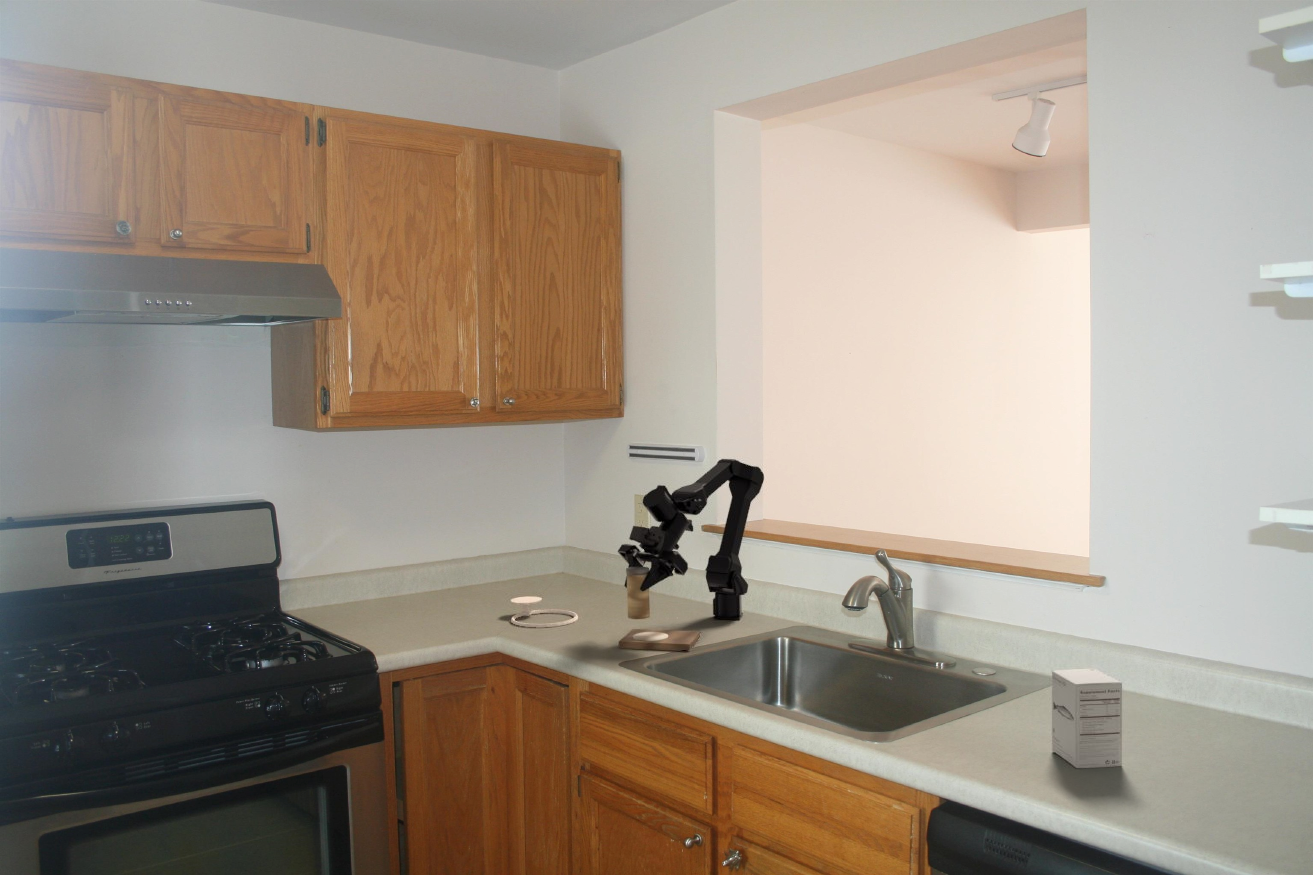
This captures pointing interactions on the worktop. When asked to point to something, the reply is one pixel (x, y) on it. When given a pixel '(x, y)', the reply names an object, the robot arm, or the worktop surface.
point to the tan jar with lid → (637, 593)
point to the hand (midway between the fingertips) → (633, 588)
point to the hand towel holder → (533, 600)
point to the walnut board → (659, 639)
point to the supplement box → (1087, 718)
